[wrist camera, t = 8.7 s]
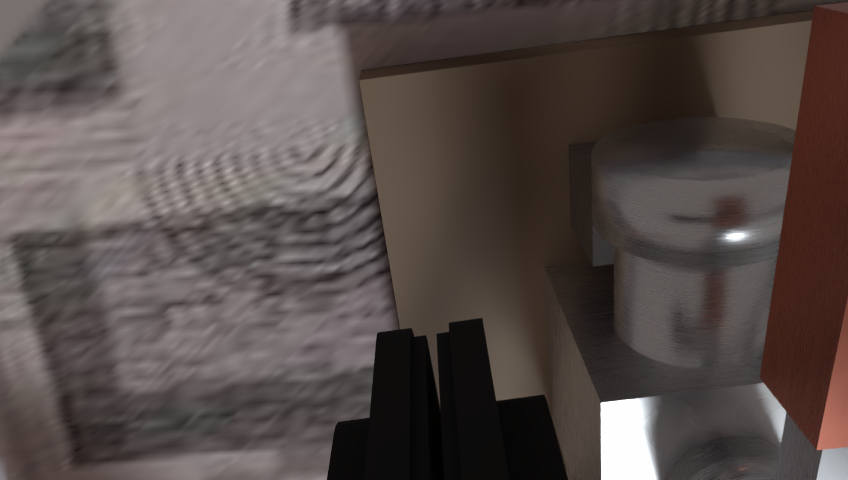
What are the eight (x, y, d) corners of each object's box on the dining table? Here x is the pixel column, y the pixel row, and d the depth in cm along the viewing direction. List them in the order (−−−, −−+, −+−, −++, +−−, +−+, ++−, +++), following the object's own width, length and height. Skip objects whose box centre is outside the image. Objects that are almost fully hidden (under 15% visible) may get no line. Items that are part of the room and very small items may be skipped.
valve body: (752, 91, 22) (1001, 216, 13) (715, 495, 30) (854, 748, 21) (536, 119, 22) (633, 262, 13) (556, 514, 30) (626, 773, 21)
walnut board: (904, -2, 22) (937, 3, 21) (815, 487, 32) (834, 512, 30) (361, 70, 23) (358, 80, 21) (436, 532, 32) (438, 559, 31)
